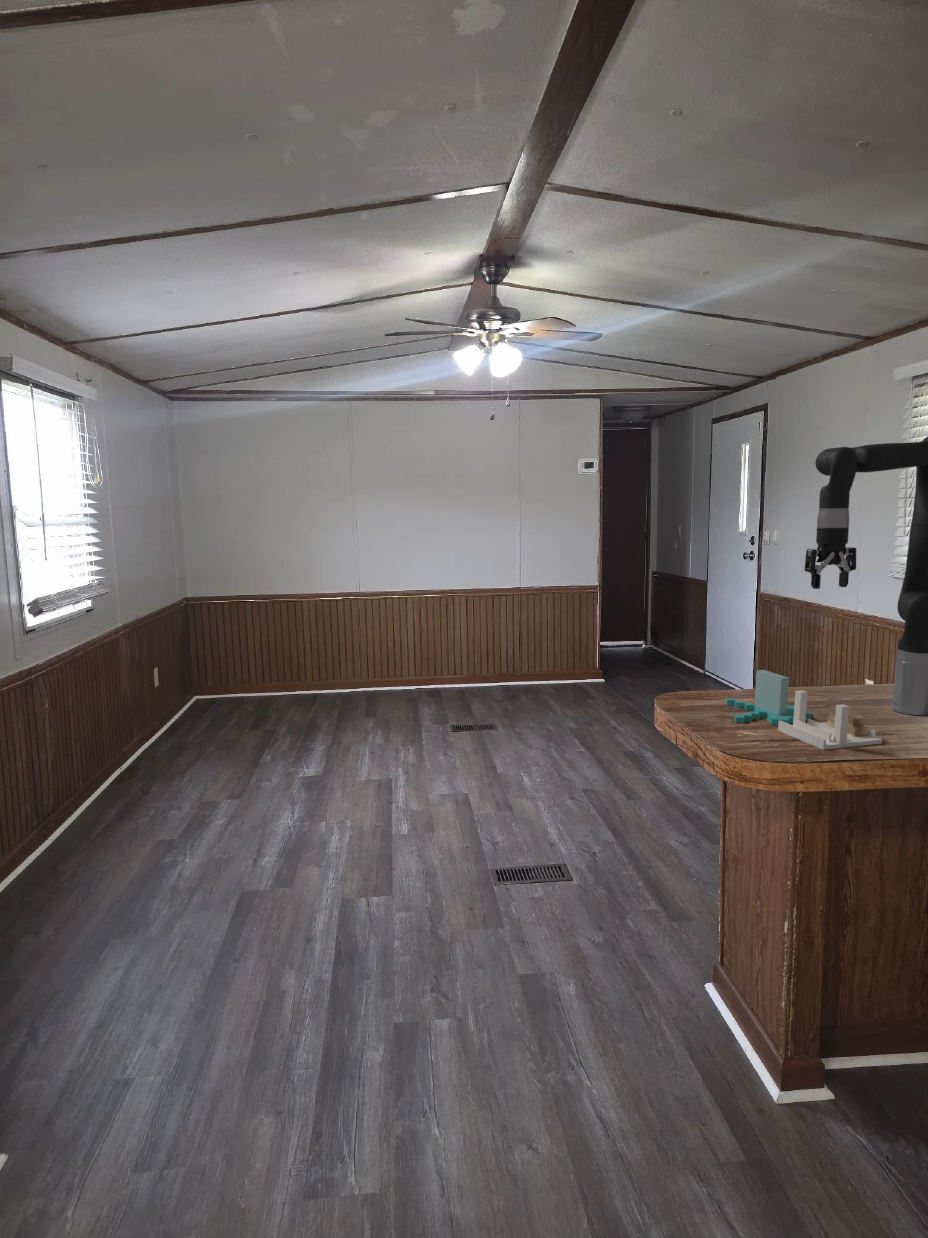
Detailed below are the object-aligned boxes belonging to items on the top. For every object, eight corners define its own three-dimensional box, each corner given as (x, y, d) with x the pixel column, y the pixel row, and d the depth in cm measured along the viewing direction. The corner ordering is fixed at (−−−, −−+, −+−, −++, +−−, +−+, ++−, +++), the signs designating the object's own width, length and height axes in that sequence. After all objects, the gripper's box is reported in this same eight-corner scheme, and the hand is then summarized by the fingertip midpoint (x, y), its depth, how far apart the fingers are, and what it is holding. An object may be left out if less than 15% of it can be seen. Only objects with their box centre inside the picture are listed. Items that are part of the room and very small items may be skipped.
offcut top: (839, 718, 197) (840, 710, 196) (863, 725, 190) (864, 717, 190) (829, 719, 195) (830, 712, 195) (852, 727, 189) (853, 719, 189)
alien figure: (735, 725, 203) (816, 730, 199) (736, 717, 203) (817, 721, 199) (725, 705, 223) (799, 709, 219) (726, 698, 222) (799, 701, 218)
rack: (833, 725, 201) (836, 687, 200) (881, 743, 186) (885, 703, 184) (777, 730, 196) (780, 692, 195) (823, 749, 181) (826, 708, 180)
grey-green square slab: (761, 704, 215) (763, 669, 214) (786, 714, 206) (789, 677, 204) (754, 705, 214) (756, 670, 213) (779, 715, 205) (781, 678, 203)
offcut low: (840, 725, 197) (840, 717, 197) (867, 735, 189) (868, 727, 189) (827, 726, 196) (827, 719, 196) (854, 737, 188) (854, 729, 187)
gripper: (844, 524, 206) (841, 585, 209) (799, 526, 202) (796, 587, 205) (866, 525, 199) (862, 588, 201) (820, 526, 195) (816, 590, 198)
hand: (829, 587), depth 203 cm, fingers open, 8 cm apart
